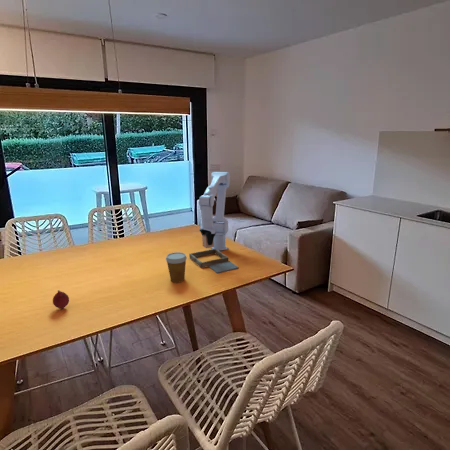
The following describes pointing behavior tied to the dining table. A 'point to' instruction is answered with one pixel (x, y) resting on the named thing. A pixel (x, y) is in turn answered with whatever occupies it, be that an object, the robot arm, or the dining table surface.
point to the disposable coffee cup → (176, 266)
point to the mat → (223, 267)
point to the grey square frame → (208, 252)
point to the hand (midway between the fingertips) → (208, 243)
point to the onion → (60, 299)
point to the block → (205, 243)
